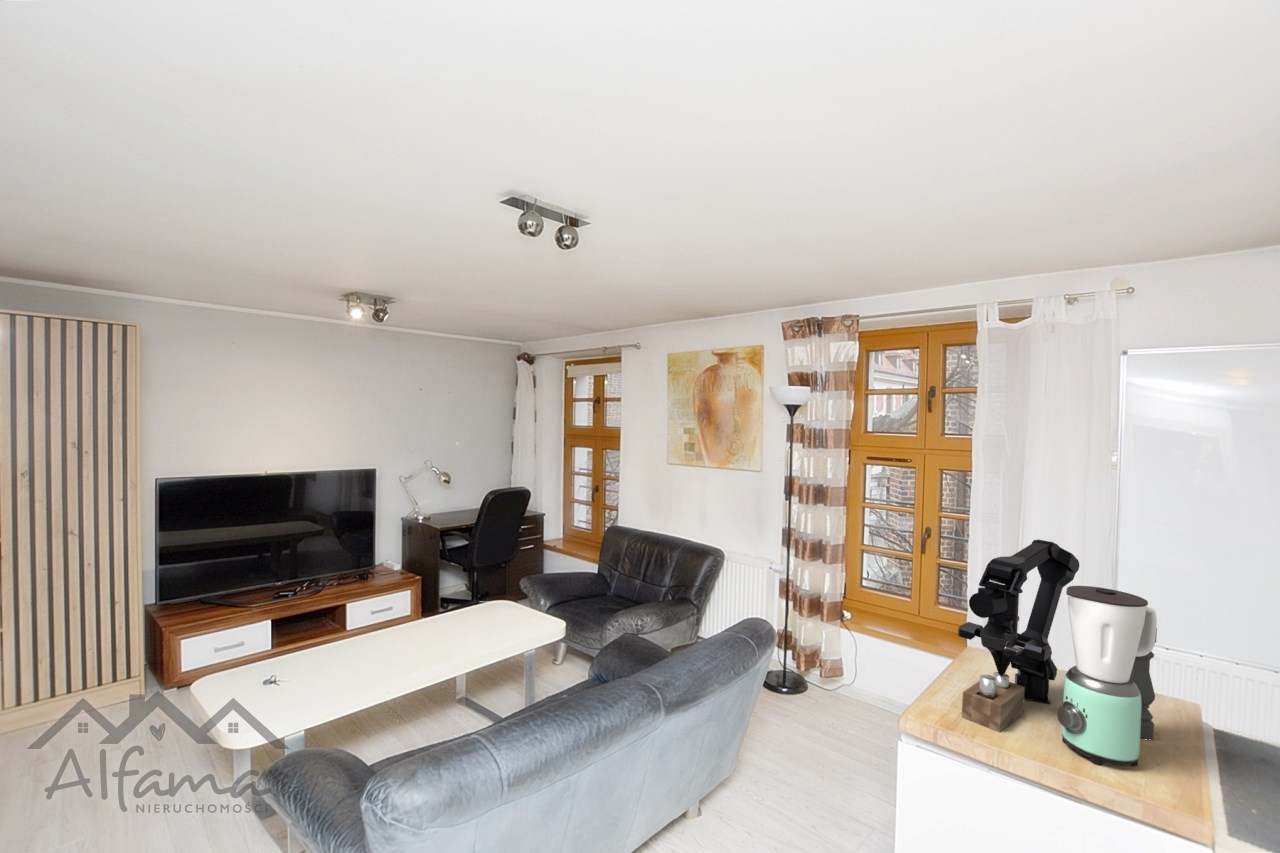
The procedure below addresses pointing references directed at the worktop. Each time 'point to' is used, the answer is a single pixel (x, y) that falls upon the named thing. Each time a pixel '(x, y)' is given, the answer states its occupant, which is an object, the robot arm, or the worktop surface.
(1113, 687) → the mint green blender
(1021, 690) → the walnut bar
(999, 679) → the back peg
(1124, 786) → the worktop surface
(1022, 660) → the robot arm
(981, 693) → the front peg
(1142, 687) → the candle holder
